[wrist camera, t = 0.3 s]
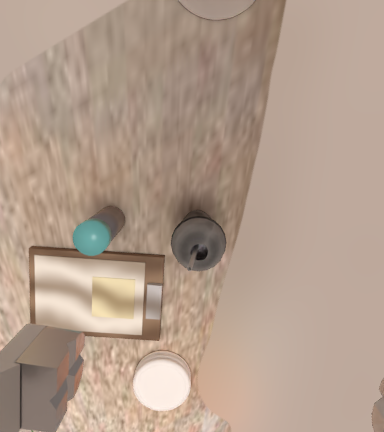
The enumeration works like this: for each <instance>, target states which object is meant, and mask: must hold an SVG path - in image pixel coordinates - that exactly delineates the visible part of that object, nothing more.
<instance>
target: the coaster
mask: <svg viewBox="0 0 384 432" xmlns="http://www.w3.org/2000/svg"><path fill="white" fill-rule="evenodd" d="M190 388H191V373H190V369H189V366H188V365H187V363H186V362H185V360H184V359H183V358H182V357H180V356H179V355H177V354H175V353H173V352H170V351H156V352H152V353H150V354H148V355H146V356H145V357H144V358H143V359H142V360H141V361H140V362H139V364H138V366H137V368H136V371H135V375H134V379H133V390H134V393H135V396H136V397H137V399H138V400H139V402H141V403H142V404H143V405H144V406H146V407H147V408H150V409H152V410H156V411H168V410H172V409H175V408H177V407H178V406H180V405H181V404H182V403H183V402H184V401H185V400H186V398H187V397H188V395H189V392H190Z"/></svg>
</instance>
